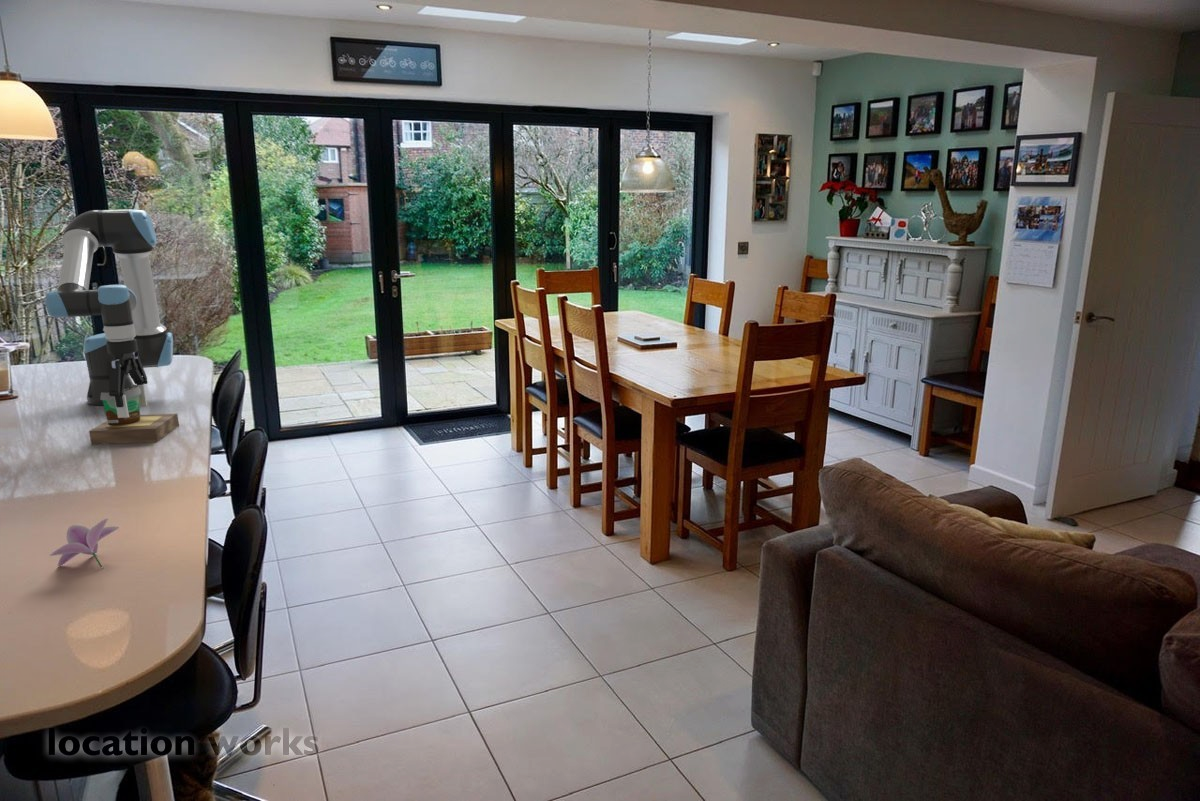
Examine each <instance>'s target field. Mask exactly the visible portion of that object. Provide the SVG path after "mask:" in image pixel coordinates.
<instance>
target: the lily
mask: <svg viewBox="0 0 1200 801" xmlns="http://www.w3.org/2000/svg"><path fill="white" fill-rule="evenodd" d="M108 519H109V518H108V517H107V518H104V519H102V520H101V521H100V522H98V523H97V524H95V525H94V526H92V527H91V528H89V527H87V526H83V525H76V524H75V525H73V524H72V525H70V526H68V529H67V530H66V542H67V543H66V544H65V545H63V546H61V547H59V548H58V549H56V550H54V551H52V553H51V554H50V555H49V556H50V557H51V556H52V557H53V556H60V555H61V556H60V558H59V560H58V563H57V567H58V566H61V565H62V566H64V565H65V564H66V563H68V562H69V561H71V560H72V559H73V558H75V557H76V556H78V555H79V554H80V555H81V554H82V555H88V556H89V555H90V556H93V557H94V558H95V560H96V562H97V563H98V565H99V567H100V568H101V567H103V565H102V564H101V561H100V560H99V559H98V557H97V554H98V548H99V543H98V542H100V541H101V540H102V539H104V538H105V537H107V536H108V535H111V533H114V532H116V531H117V530H118V529H119V528H120V527H119V526H106V523H107V522H108ZM95 553H97V554H96V555H95ZM63 564H64V565H63ZM62 566H61V567H62Z"/></svg>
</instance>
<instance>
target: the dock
mask: <svg viewBox="0 0 1200 801" xmlns="http://www.w3.org/2000/svg"><path fill="white" fill-rule="evenodd" d="M178 416H179V414H178V413H150V414H148V413H147V414H140V420H139V421H138V422H135V423H131V424H125V425H108V421H107V420H105V421H103V422H102V423H100V424H98V425H97V426H95V427H94V428H91V429H90V430H89V431H88V434H89V438H90V444H91V445H103V444H102V443H114V444H129V443H128V442H138V443H155V442H157V441H158V442H159V441H161V440H162V439H163V438H165V437H166V436H167V435H169V434H170V433H172V432H173V431H174V430H176V429H177V428H178V427H179V426H180V422H179V417H178ZM176 427H177V428H176ZM175 428H176V429H175ZM160 439H161V440H160Z"/></svg>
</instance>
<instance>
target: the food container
mask: <svg viewBox="0 0 1200 801" xmlns="http://www.w3.org/2000/svg"><path fill="white" fill-rule="evenodd" d="M140 394H141V390H140V388H139V387H138V385H137V384H135V383H133V384H131V387H130V388H127V389H124V394H123V395H126V401H127V407H128V413H129V417H126V418H118V415H117V409H116V404H115V398H114V396H110V395H109V393H101V397H100V400H103V404H104V405H103V408H104V412H105V415H106V421H108V425H125V424H131V423H135V422H138V421H139V420H140V415H141V412H140V411H141V409H140V407H141V406H140V405H139V395H140Z"/></svg>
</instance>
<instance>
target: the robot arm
mask: <svg viewBox="0 0 1200 801" xmlns="http://www.w3.org/2000/svg"><path fill="white" fill-rule="evenodd" d="M61 241H62V245H63V246H64V250H63V251H64V252H63V257H62V262H61V267H60V272H59V273H60V274H59V280H58V286H57V290H53V291H49V292H47V293H46V294H45V300H44V301H45V306H46V310H47V313H48V314H49V315H50V316H51V317H52V318H74V317H75V318H77V317H89V316H101V320H102V325H103V328H102V331H103V333H98V334H95V335H91V336H88V337H87V338H85V339H84V341H83V349H84V352H83V354H84V355H85V360H86V362H85V363H86V367H87V372H88V377H89V383H88V389H87V393H86V400H87V404H88V405H91V406H104V404H103V400H100V397H101V393H109V395H110V396H114V398H115V404H116V409H117V415H118V418H126V417H129V413H128V407H127V401H126V395H123V394H124V389H127V388H130V387H131V384H134V385H138V387H139V388H140V390H141V394H140V395H139V405H140V407H147V406H148V401H147V394H146V388H145V385H147V384H148V377H147V374H146V372H145V368H146V369H147V368H148V369H149V368H160V367H166V366H170V365H171V364H172V362H173V355H174V338H173V333H172V332H169V331H168V330H167V326H165V325H164V324H162V323H161V319H160V313H159V306H158V302H157V294H156V290H155V284H154V277H153V273H152V267H151V261H150V255H151V254H152V252H153V251H154V248H153V247H154V246H156V245H158V243H157V242H158V240H157V235H156V230H155V227H154V224H153V222H152V219H151V216H150V215H149V213H148V212H147V211H145V210H143V209H131V208H130V209H127V208H126V209H102V210H101V209H92V210H88V211H85V212H83V213H81V214H79V215H78V216H76V217H75V218H73V219H72V220H71V221H70V222H69V224H67V225H66V227H65V229H64V231H63V234H62V240H61ZM101 247H106V248H107V247H108V248H109V247H110V248H112V252H113V254H114V255H116V256H117V257H118V258H119V262H120V267H121V272H122V278H123V284H108V285H106V284H105V285H100V286H98V288H97V289H89V288H90V280H91V272H92V267H93V266H92V265H93V258H94V253H95V252H96V251H98V249H99V248H101Z"/></svg>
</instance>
